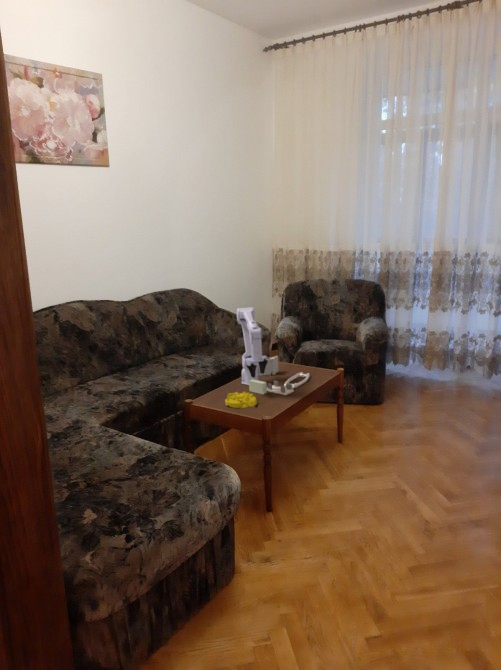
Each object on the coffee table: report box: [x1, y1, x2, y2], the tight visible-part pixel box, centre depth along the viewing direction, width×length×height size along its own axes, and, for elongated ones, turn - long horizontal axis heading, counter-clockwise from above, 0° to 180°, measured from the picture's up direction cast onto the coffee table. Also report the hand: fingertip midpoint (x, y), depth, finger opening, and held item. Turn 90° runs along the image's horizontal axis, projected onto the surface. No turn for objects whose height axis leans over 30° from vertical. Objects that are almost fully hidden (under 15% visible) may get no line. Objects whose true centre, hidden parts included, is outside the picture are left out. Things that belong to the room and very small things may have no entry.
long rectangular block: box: [248, 379, 268, 395], centre depth 271 cm, size 10×3×6 cm, turn 48°
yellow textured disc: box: [224, 391, 258, 409], centre depth 257 cm, size 16×16×4 cm
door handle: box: [283, 371, 310, 390], centre depth 285 cm, size 3×10×25 cm
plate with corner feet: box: [267, 380, 295, 396], centre depth 271 cm, size 14×7×4 cm, turn 48°
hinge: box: [258, 355, 279, 377], centre depth 301 cm, size 14×5×10 cm, turn 105°
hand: (257, 375), depth 269 cm, fingers open, 7 cm apart
